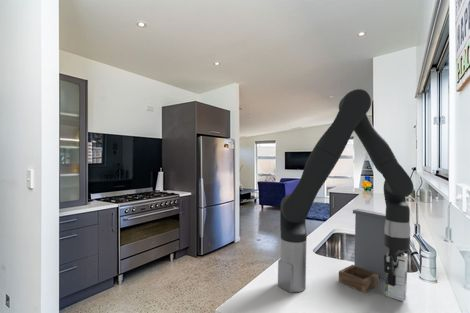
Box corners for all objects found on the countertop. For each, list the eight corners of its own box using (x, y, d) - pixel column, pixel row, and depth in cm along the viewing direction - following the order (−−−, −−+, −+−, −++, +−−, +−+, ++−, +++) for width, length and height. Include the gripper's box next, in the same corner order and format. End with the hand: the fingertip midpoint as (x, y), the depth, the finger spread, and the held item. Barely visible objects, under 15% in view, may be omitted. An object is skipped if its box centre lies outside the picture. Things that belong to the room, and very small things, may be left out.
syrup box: (387, 289, 93) (388, 249, 93) (407, 295, 89) (407, 253, 89) (384, 295, 89) (385, 253, 88) (404, 302, 85) (405, 258, 85)
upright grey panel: (392, 284, 97) (394, 217, 97) (351, 268, 110) (352, 209, 109) (397, 281, 99) (398, 216, 99) (356, 266, 112) (357, 208, 112)
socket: (365, 293, 90) (365, 281, 90) (338, 281, 98) (338, 271, 98) (378, 284, 96) (378, 274, 96) (352, 274, 104) (352, 264, 104)
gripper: (393, 227, 96) (392, 272, 96) (375, 234, 87) (374, 283, 87) (417, 232, 90) (416, 280, 90) (400, 240, 81) (399, 293, 81)
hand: (395, 282), depth 89 cm, fingers closed on syrup box, 6 cm apart
